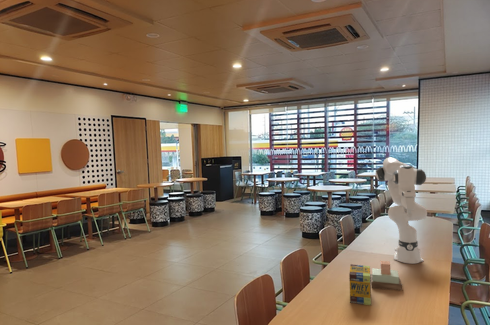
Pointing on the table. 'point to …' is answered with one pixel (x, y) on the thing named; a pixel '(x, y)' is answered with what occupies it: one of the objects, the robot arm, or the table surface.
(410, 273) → the table surface
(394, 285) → the tower base
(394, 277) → the tower top
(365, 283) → the protein box
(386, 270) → the block
